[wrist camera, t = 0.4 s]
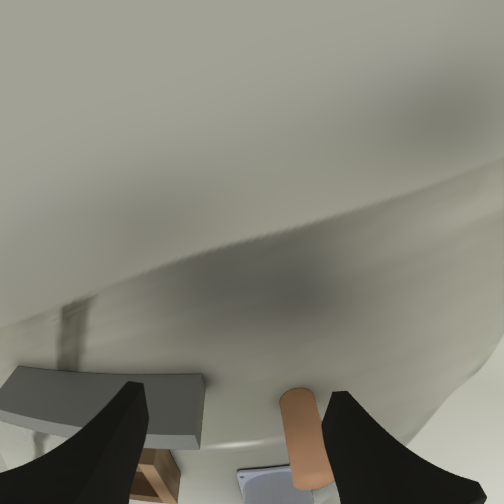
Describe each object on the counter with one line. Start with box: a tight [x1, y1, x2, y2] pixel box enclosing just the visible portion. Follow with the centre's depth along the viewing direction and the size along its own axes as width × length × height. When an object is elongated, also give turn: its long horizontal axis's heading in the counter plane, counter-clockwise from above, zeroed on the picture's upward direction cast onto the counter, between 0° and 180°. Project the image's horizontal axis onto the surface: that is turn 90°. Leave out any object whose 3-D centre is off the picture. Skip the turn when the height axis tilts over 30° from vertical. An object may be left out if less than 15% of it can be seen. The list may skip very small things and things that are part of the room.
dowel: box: [280, 388, 335, 490], centre depth 19 cm, size 3×3×8 cm
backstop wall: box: [0, 366, 205, 450], centre depth 19 cm, size 2×18×6 cm, turn 94°
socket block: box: [129, 448, 181, 504], centre depth 23 cm, size 8×8×4 cm
